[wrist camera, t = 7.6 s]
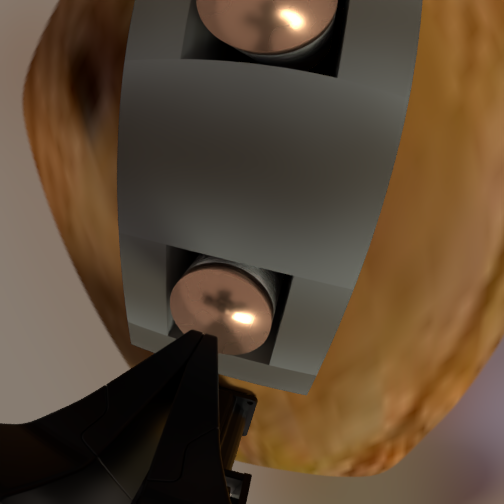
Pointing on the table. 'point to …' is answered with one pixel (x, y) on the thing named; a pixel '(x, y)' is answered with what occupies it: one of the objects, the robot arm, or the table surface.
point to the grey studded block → (257, 172)
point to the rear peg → (227, 302)
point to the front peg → (273, 29)
